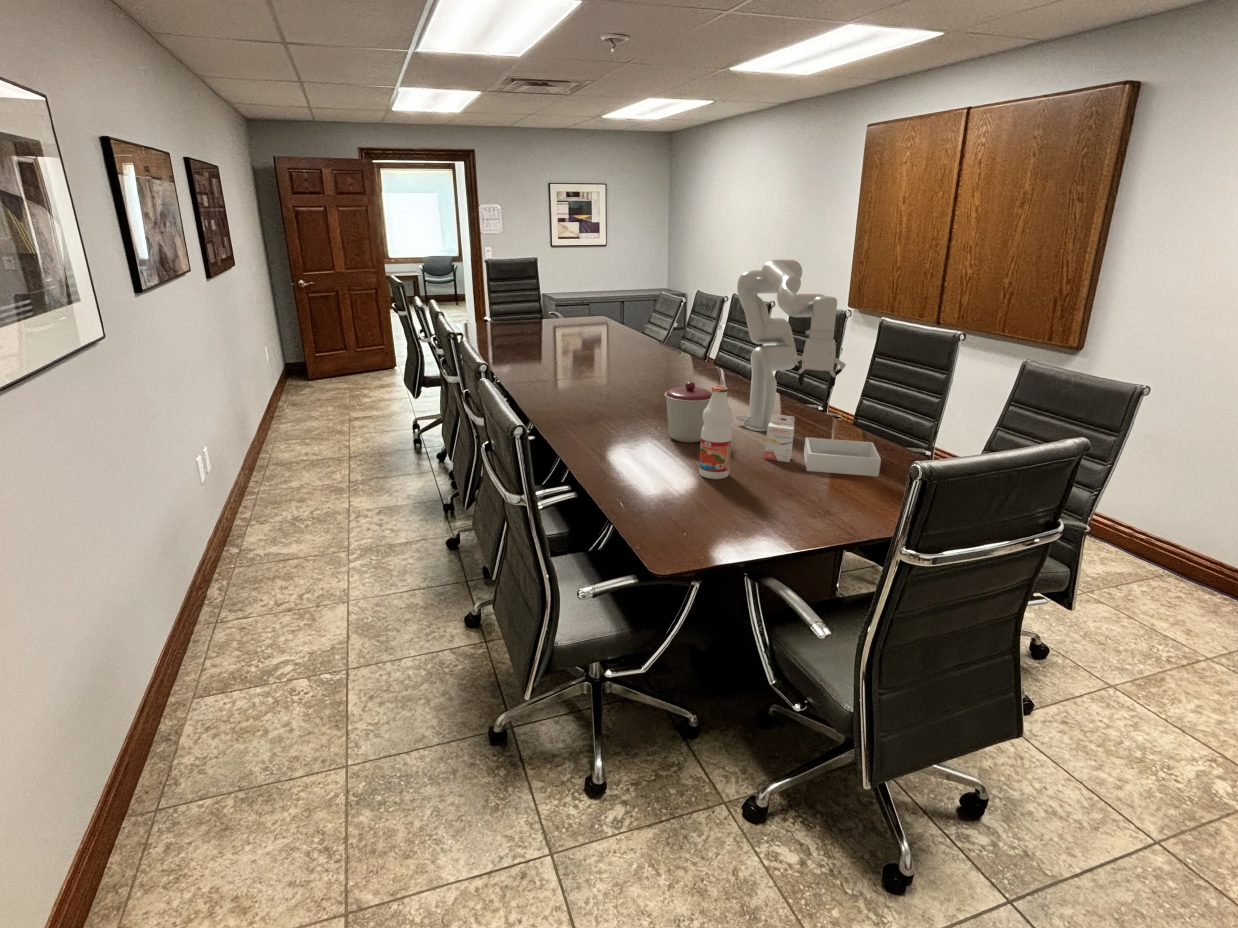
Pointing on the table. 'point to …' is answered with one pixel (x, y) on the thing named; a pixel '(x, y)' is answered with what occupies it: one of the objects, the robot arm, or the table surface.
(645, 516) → the table surface
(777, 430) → the ink cartridge box
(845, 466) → the tray
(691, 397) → the canister
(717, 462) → the fruit juice
